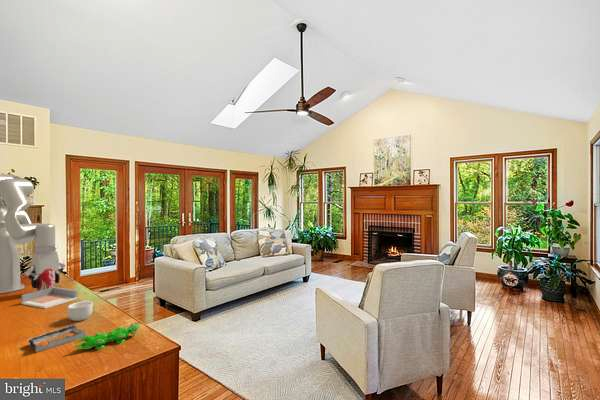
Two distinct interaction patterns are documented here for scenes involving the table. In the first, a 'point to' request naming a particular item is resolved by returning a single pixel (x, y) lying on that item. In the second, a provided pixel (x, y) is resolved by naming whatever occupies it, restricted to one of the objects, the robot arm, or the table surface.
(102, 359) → the table surface
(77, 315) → the teacup
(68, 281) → the table surface
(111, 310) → the table surface
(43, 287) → the soda can
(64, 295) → the open box
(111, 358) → the table surface
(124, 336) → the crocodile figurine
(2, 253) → the robot arm
